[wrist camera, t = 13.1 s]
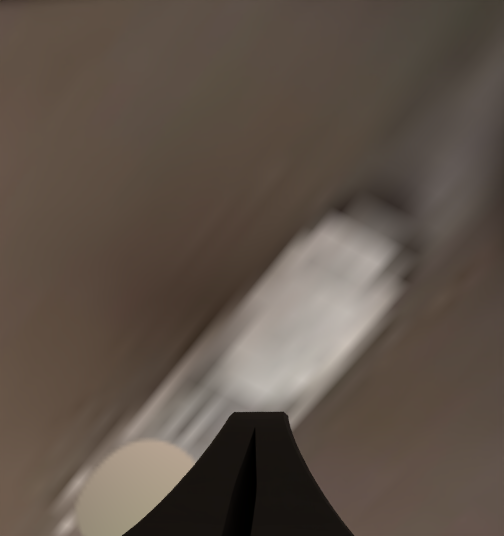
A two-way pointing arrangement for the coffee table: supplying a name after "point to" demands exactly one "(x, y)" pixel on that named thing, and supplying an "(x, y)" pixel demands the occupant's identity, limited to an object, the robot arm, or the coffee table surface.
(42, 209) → the coffee table surface
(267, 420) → the robot arm
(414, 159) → the coffee table surface
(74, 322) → the coffee table surface
